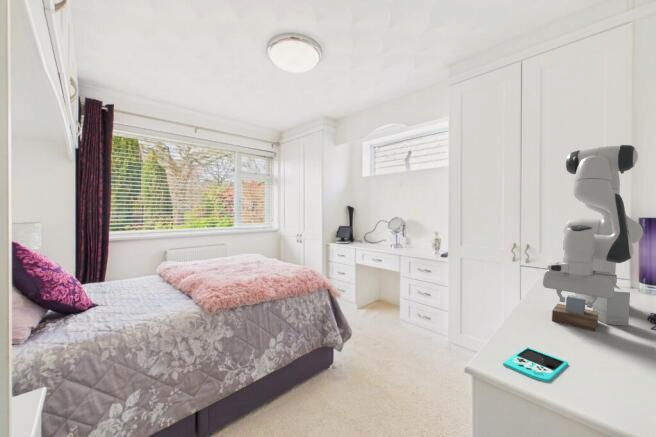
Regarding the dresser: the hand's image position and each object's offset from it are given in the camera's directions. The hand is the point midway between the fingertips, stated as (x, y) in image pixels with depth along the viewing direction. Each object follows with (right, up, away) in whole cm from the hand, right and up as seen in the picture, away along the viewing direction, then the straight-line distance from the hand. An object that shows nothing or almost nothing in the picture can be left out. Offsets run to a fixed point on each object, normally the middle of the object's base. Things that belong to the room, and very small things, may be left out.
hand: (575, 304), depth 105 cm
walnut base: (0, -7, 0) cm, 7 cm away
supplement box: (+14, -7, +1) cm, 16 cm away
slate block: (0, -3, 0) cm, 3 cm away
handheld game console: (-38, -8, -30) cm, 49 cm away
